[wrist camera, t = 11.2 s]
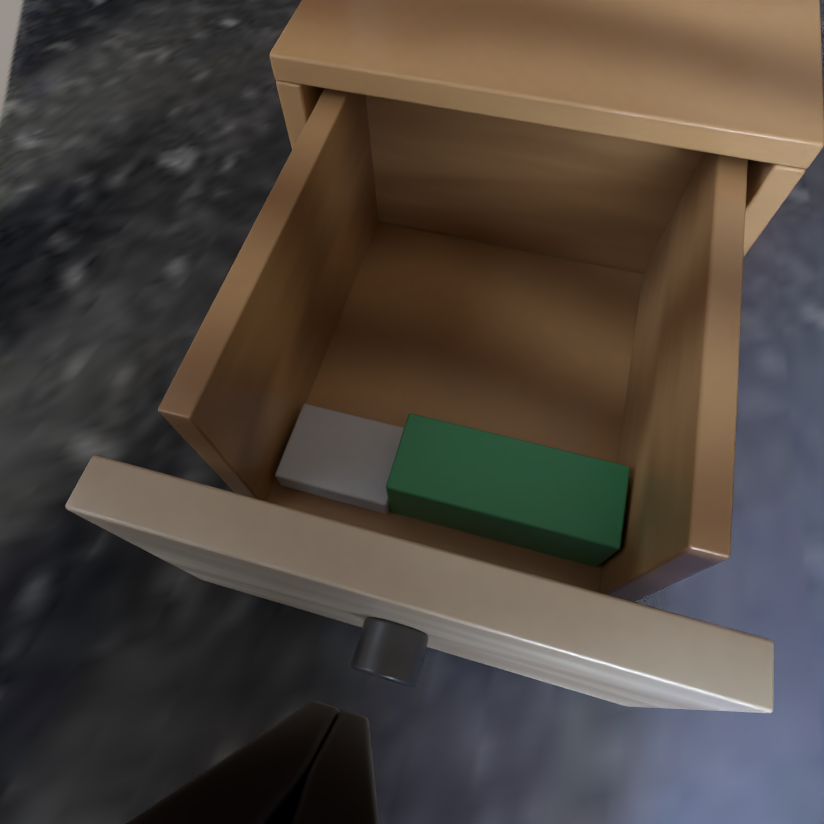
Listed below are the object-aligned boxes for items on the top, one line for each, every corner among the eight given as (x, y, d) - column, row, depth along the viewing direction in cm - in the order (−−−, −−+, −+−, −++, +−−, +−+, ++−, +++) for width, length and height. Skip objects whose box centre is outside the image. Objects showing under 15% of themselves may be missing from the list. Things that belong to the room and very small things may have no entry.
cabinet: (675, 353, 23) (826, 144, 14) (322, 277, 25) (267, 54, 16) (701, 83, 30) (814, -168, 21) (424, 41, 32) (424, -204, 23)
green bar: (607, 489, 18) (631, 462, 16) (595, 570, 17) (620, 553, 15) (308, 415, 20) (294, 381, 18) (280, 486, 19) (261, 459, 16)
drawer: (623, 753, 16) (774, 797, 9) (183, 617, 18) (28, 567, 11) (673, 284, 23) (781, 105, 16) (352, 220, 25) (323, 34, 18)
